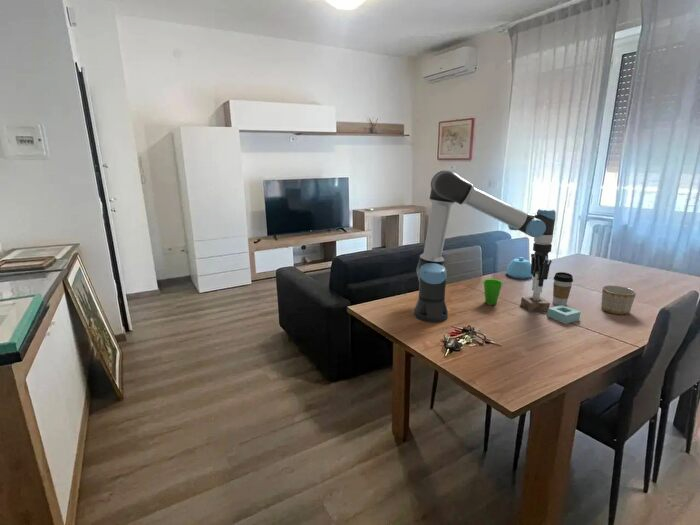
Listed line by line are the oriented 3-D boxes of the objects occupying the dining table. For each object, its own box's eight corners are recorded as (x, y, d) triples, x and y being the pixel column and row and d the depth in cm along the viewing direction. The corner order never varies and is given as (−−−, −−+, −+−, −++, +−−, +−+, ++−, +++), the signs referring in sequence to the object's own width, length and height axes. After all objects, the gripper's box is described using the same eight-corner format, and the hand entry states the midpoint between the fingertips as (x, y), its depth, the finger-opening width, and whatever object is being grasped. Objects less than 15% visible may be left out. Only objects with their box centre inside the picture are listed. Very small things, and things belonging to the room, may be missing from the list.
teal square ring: (565, 323, 161) (566, 315, 160) (547, 316, 169) (548, 308, 168) (579, 320, 165) (580, 311, 164) (561, 312, 173) (562, 304, 172)
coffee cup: (568, 301, 186) (573, 273, 182) (570, 307, 179) (574, 278, 175) (549, 299, 189) (553, 271, 185) (550, 305, 182) (554, 275, 178)
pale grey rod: (534, 303, 177) (538, 272, 173) (530, 300, 180) (534, 271, 176) (540, 302, 177) (544, 272, 173) (536, 300, 180) (540, 270, 176)
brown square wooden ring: (530, 311, 175) (531, 303, 174) (520, 304, 183) (521, 296, 182) (548, 310, 175) (550, 302, 174) (538, 303, 184) (539, 296, 183)
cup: (502, 306, 181) (504, 285, 178) (482, 305, 183) (484, 284, 180) (498, 300, 189) (500, 279, 187) (480, 298, 191) (482, 278, 188)
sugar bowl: (537, 279, 221) (539, 260, 218) (512, 279, 221) (514, 260, 218) (526, 272, 236) (528, 254, 233) (502, 272, 236) (504, 254, 233)
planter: (602, 303, 183) (606, 283, 180) (634, 310, 174) (638, 289, 172) (595, 311, 175) (599, 290, 172) (628, 318, 166) (633, 296, 163)
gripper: (561, 246, 164) (554, 296, 170) (541, 239, 179) (535, 285, 185) (544, 246, 163) (538, 297, 169) (526, 239, 178) (520, 286, 184)
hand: (536, 291), depth 177 cm, fingers closed on pale grey rod, 2 cm apart
